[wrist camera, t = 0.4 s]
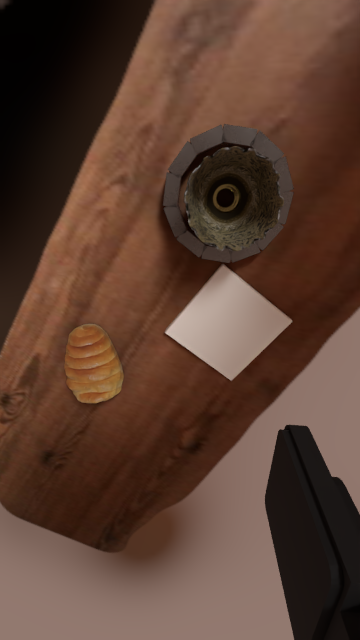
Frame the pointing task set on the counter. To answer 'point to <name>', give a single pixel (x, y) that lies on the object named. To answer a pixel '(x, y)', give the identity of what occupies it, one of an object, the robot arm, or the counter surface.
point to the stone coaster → (227, 323)
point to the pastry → (92, 365)
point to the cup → (249, 198)
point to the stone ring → (185, 159)
